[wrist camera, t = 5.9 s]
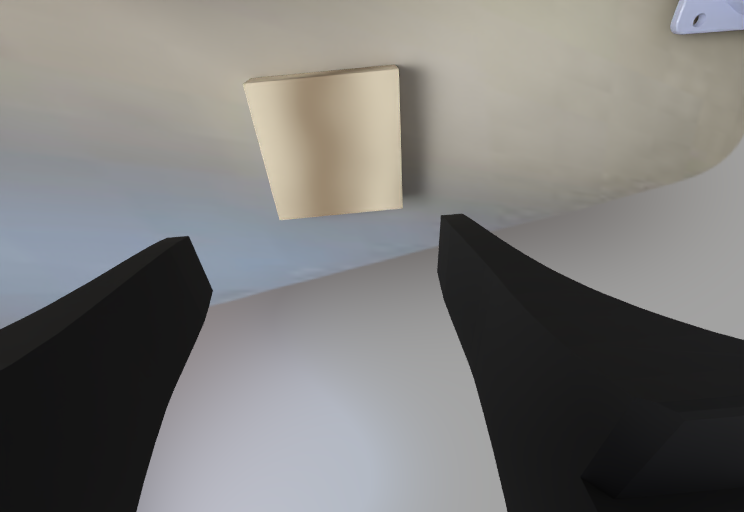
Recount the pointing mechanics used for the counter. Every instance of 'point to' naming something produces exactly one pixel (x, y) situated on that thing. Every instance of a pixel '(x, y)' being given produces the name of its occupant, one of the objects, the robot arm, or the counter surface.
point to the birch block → (330, 140)
